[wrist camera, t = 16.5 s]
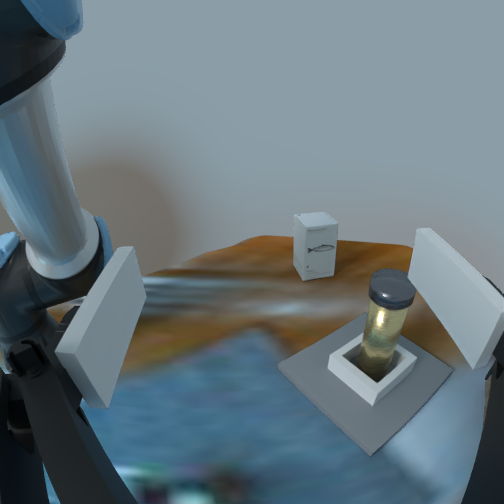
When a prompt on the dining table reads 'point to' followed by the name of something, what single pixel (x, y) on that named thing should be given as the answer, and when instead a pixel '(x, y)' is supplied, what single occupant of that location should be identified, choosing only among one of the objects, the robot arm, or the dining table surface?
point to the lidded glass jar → (384, 321)
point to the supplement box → (315, 245)
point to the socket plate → (365, 384)
